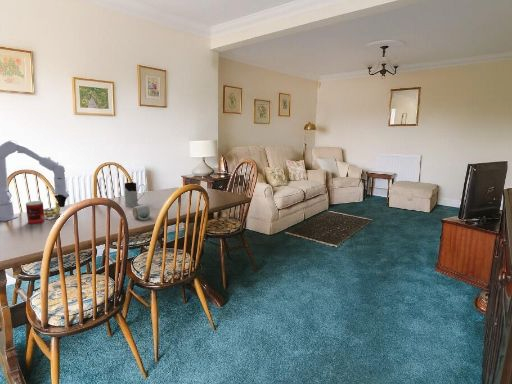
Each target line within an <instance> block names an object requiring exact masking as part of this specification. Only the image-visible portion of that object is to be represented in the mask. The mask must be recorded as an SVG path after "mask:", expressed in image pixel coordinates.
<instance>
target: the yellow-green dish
mask: <svg viewBox="0 0 512 384" xmlns="http://www.w3.org/2000/svg"><path fill="white" fill-rule="evenodd" d="M45 209H46V208H45ZM45 209H44V208H43V210H44V216H46V215H47V214H48V216H50V215H53V214H55V215H56V214H58V213H59V211H61V207H60V206H59V204H58V201H56V202H55V208H53V207H52V209H53V211H51V212H46V210H45ZM52 212H53V213H52Z"/></svg>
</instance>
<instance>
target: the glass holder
mask: <svg viewBox="0 0 512 384" xmlns="http://www.w3.org/2000/svg"><path fill="white" fill-rule="evenodd" d="M141 186H143V187H144V188H146V186H145V185H144V184H142V183H141V184H139V185H138V187H137V182H133V181H132V182H125V183H124V186H123V187H124V207H127V208H128V207H136V206H139V204H138V203H139V199H141V198H142V197H143V196H144V194H145V192H146V189H143V190H144V191H143V193H142V195H141V196H139V197H138V192H139V191H140V189H137V188H140V187H141Z"/></svg>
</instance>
